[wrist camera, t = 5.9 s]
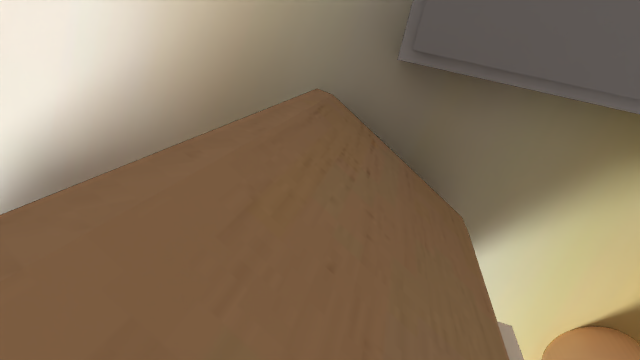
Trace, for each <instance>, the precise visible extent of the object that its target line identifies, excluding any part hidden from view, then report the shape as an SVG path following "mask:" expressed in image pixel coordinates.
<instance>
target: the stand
mask: <svg viewBox="0 0 640 360" xmlns="http://www.w3.org/2000/svg"><path fill="white" fill-rule="evenodd" d="M397 60H402V61H406V62H410V63H415V64H419V65H424V66H428V67H432V68H437V69H441V70H446V71H450V72H455V73H459V74H463V75H468V76H472V77H477V78H481V79H486V80H490V81H494V82H499V83H503V84H508V85H512V86H517V87H521V88H525V89H530V90H534V91H539V92H543V93H548V94H552V95H556V96H561V97H565V98H570V99H574V100H579V101H583V102H587V103H592V104H596V105H601V106H605V107H610V108H614V109H618V110H623V111H627V112H632V113H636V114H640V0H413V2H412V6H411V10H410V14H409V18H408V21H407V25H406V29H405V33H404V37H403V40H402V44H401V48H400V52H399V56H398V59H397Z"/></svg>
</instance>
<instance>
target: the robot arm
mask: <svg viewBox="0 0 640 360" xmlns="http://www.w3.org/2000/svg"><path fill="white" fill-rule="evenodd" d="M497 323H498V326H499V329H500V332H501V335H502V338H503V341H504V345H505V348H506V351H507V354H508V357H509V360H524V359H523V356H522V353H521V350H520V348H519V345H518V342H517V339H516V337H515V334H514V331H513V328H512V326H510V325H507V324H503V323H500V322H497Z"/></svg>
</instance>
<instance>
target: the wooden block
mask: <svg viewBox="0 0 640 360" xmlns="http://www.w3.org/2000/svg"><path fill="white" fill-rule="evenodd" d="M0 360H509V357H508V354H507V351H506V348H505V345H504V341H503V338H502V335H501V332H500V329H499V326H498V323H497V320H496V317H495V314H494V310H493V307H492V304H491V301H490V298H489V295H488V292H487V289H486V286H485V283H484V279H483V276H482V273H481V270H480V267H479V264H478V261H477V258H476V255H475V252H474V248H473V245H472V242H471V239H470V236H469V233H468V230H467V228H466V226H465V223H464V221H463V218H462V217H461V216H460V215H459V214H458V213H457V212H456V211H455V210H454V209H453V208H452V207H451V206H450V205H449V204H447V203H446V202H445V201H444V200H443V199H442V198H441V197H440V196H439V195H438V194H437V193H436V192H435V191H434V190H433V189H432V188H431V187H430V186H429V185H427V184H426V183H425V182H424V181H423V180H422V179H421V178H420V177H419V176H418V175H417V174H416V173H415V172H414V171H413V170H412V169H411V168H410V167H409V166H407V165H406V164H405V163H404V162H403V161H402V160H401V159H400V158H399V157H398V156H397V155H396V154H395V153H394V152H393V151H392V150H391V149H390V148H388V147H387V146H386V145H385V144H384V143H383V142H382V141H381V140H380V139H379V138H378V137H377V136H376V135H375V134H374V133H373V132H372V131H371V130H370V129H368V128H367V127H366V126H365V125H364V124H363V123H362V122H361V121H360V120H359V119H358V118H357V117H356V116H355V115H354V114H353V113H352V112H351V111H350V110H348V109H347V108H346V107H345V106H344V105H343V104H342V103H341V102H340V101H339V100H338V99H337V98H336V97H335V96H334V95H332V94H330V93H327V92H324V91H322V90H319V89H315V90H312V91H310V92H307V93H305V94H302V95H300V96H297V97H295V98H292V99H290V100H287V101H285V102H282V103H280V104H277V105H275V106H272V107H270V108H267V109H265V110H262V111H260V112H257V113H255V114H252V115H250V116H247V117H245V118H242V119H240V120H237V121H235V122H232V123H230V124H227V125H225V126H222V127H220V128H217V129H215V130H212V131H210V132H207V133H205V134H202V135H200V136H197V137H194V138H192V139H189V140H187V141H184V142H182V143H179V144H177V145H174V146H172V147H169V148H167V149H164V150H162V151H159V152H157V153H154V154H152V155H149V156H147V157H144V158H142V159H139V160H137V161H134V162H132V163H129V164H127V165H124V166H122V167H119V168H117V169H114V170H112V171H109V172H107V173H104V174H102V175H99V176H97V177H94V178H92V179H89V180H87V181H84V182H82V183H79V184H77V185H74V186H72V187H69V188H67V189H64V190H62V191H59V192H57V193H54V194H52V195H49V196H47V197H44V198H42V199H39V200H37V201H34V202H32V203H29V204H27V205H24V206H22V207H19V208H17V209H14V210H12V211H9V212H7V213H4V214H2V215H0Z"/></svg>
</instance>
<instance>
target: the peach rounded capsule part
mask: <svg viewBox="0 0 640 360" xmlns="http://www.w3.org/2000/svg"><path fill="white" fill-rule="evenodd" d="M542 360H640V345H639V344H638V343H637V342H636V341H635V340H634V339H633V338H631V337H630V336H628V335H627V334H624V333H622V332H620V331H617V330H615V329H611V328H606V327H595V326H592V327H582V328H577V329H573V330H570V331H568V332H565V333H563V334H561V335H560V336H558V337H557V338H555V339H554V340H553V341H552V342H551V343H550V344H549V345H548V346H547V348H546V349H545V351H544V353H543V356H542Z"/></svg>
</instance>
